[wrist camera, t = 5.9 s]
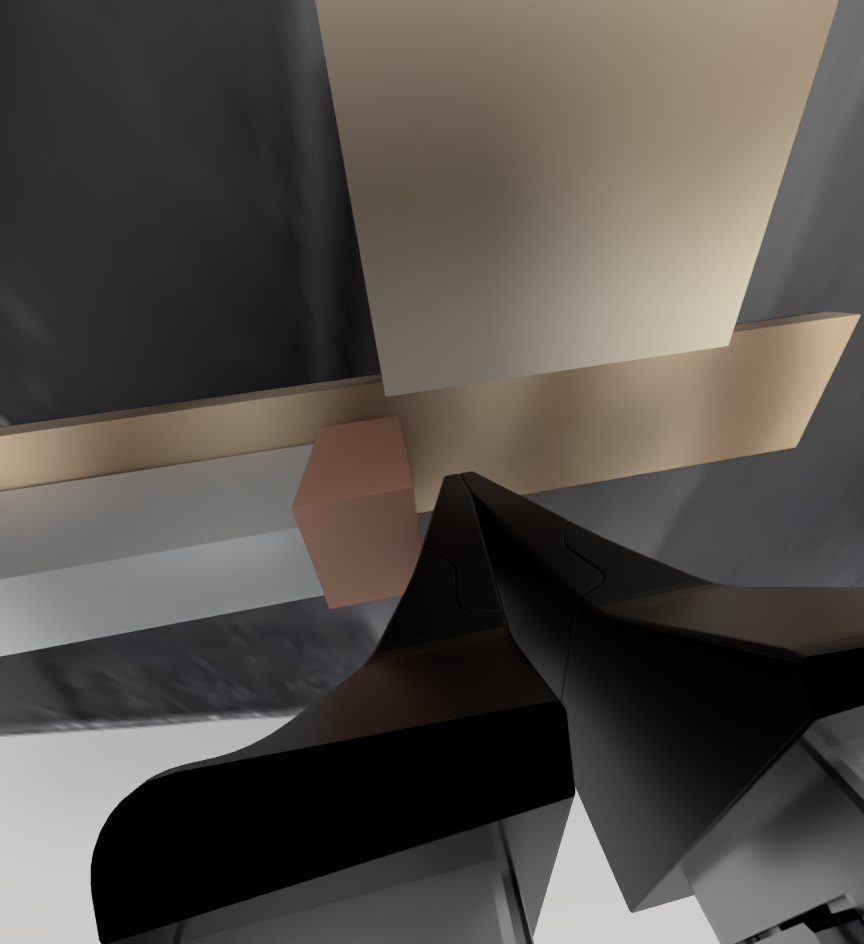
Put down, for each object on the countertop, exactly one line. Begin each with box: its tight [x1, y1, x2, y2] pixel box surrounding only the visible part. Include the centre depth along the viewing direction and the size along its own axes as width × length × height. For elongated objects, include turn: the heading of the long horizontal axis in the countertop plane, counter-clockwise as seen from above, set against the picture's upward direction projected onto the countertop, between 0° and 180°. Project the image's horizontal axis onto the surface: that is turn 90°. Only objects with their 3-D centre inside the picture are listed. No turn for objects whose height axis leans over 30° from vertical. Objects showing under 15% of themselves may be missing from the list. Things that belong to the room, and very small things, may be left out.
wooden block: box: [315, 0, 839, 397], centre depth 7 cm, size 6×6×6 cm
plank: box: [0, 312, 861, 513], centre depth 12 cm, size 33×5×1 cm, turn 96°
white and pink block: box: [0, 415, 422, 656], centre depth 9 cm, size 12×3×4 cm, turn 96°
